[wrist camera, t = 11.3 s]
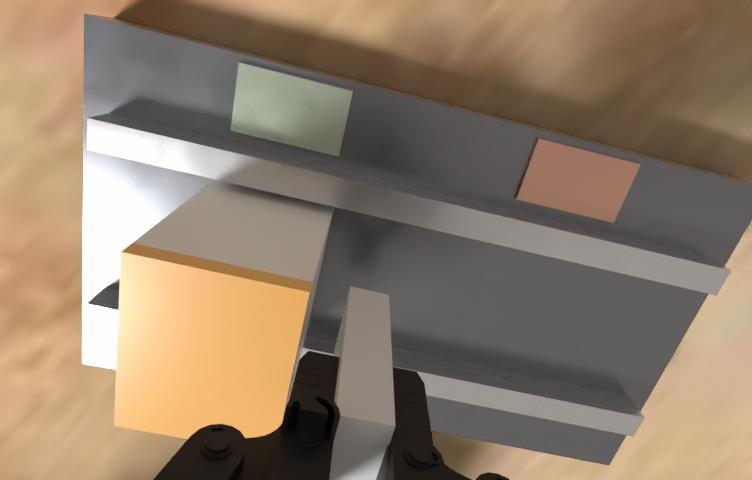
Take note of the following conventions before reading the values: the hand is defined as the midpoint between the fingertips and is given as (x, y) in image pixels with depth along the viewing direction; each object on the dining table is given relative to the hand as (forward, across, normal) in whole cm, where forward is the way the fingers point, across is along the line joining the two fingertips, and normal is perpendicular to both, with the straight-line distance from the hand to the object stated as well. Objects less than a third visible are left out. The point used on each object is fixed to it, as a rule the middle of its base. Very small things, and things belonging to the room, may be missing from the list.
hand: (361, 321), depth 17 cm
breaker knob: (+4, -5, 0) cm, 6 cm away
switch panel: (+6, +2, 0) cm, 6 cm away
